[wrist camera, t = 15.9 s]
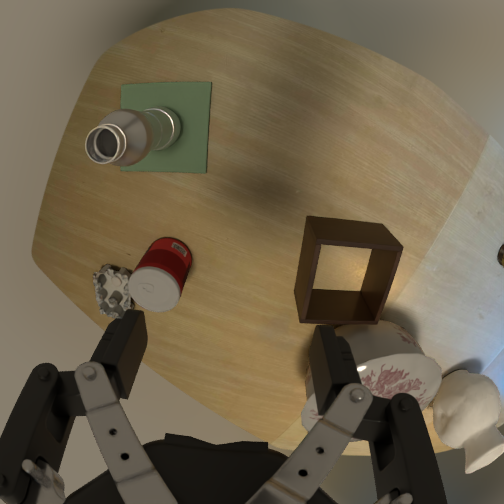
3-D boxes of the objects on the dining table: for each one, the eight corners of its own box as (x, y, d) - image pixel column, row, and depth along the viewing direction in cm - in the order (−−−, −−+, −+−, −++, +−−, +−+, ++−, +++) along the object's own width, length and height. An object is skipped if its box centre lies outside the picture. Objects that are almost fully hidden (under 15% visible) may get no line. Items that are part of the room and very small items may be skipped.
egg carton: (100, 260, 54) (91, 271, 50) (136, 269, 54) (129, 281, 51) (101, 304, 58) (94, 316, 55) (134, 313, 59) (128, 326, 55)
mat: (123, 84, 40) (121, 84, 39) (212, 82, 40) (211, 82, 39) (122, 170, 46) (120, 171, 45) (206, 172, 46) (205, 173, 46)
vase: (486, 346, 66) (533, 424, 39) (465, 391, 75) (498, 462, 48) (434, 365, 67) (476, 456, 40) (418, 408, 77) (446, 487, 50)
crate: (306, 215, 49) (316, 238, 41) (382, 223, 50) (403, 246, 42) (293, 291, 56) (299, 323, 48) (362, 294, 56) (377, 324, 48)
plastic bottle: (175, 153, 44) (124, 189, 26) (135, 139, 43) (66, 167, 25) (190, 113, 42) (144, 121, 24) (149, 100, 40) (81, 103, 23)
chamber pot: (332, 276, 55) (364, 360, 36) (434, 312, 59) (476, 379, 40) (271, 375, 66) (275, 454, 48) (367, 393, 71) (386, 459, 52)
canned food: (146, 236, 51) (123, 267, 41) (191, 236, 51) (176, 269, 41) (151, 274, 55) (132, 311, 45) (194, 275, 55) (182, 314, 45)
